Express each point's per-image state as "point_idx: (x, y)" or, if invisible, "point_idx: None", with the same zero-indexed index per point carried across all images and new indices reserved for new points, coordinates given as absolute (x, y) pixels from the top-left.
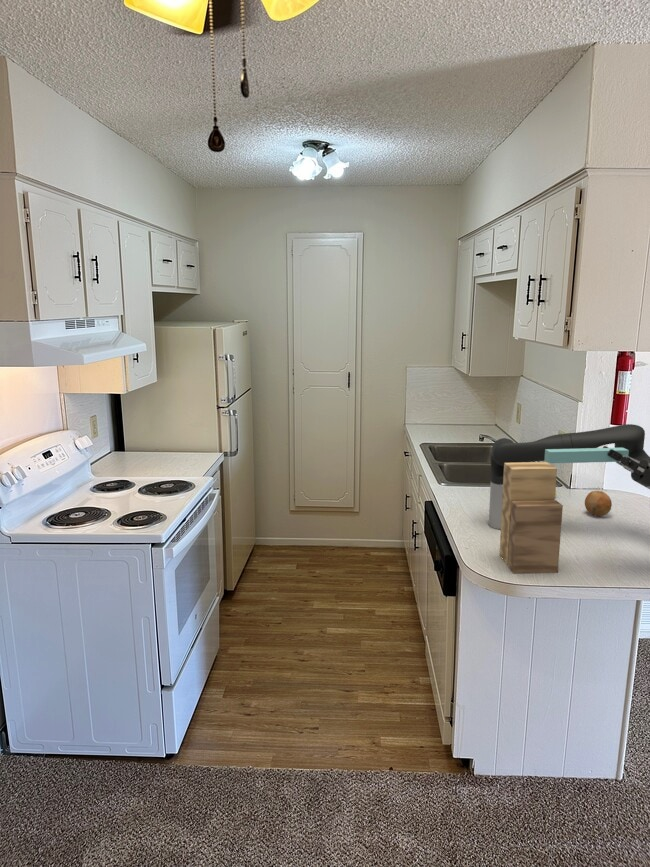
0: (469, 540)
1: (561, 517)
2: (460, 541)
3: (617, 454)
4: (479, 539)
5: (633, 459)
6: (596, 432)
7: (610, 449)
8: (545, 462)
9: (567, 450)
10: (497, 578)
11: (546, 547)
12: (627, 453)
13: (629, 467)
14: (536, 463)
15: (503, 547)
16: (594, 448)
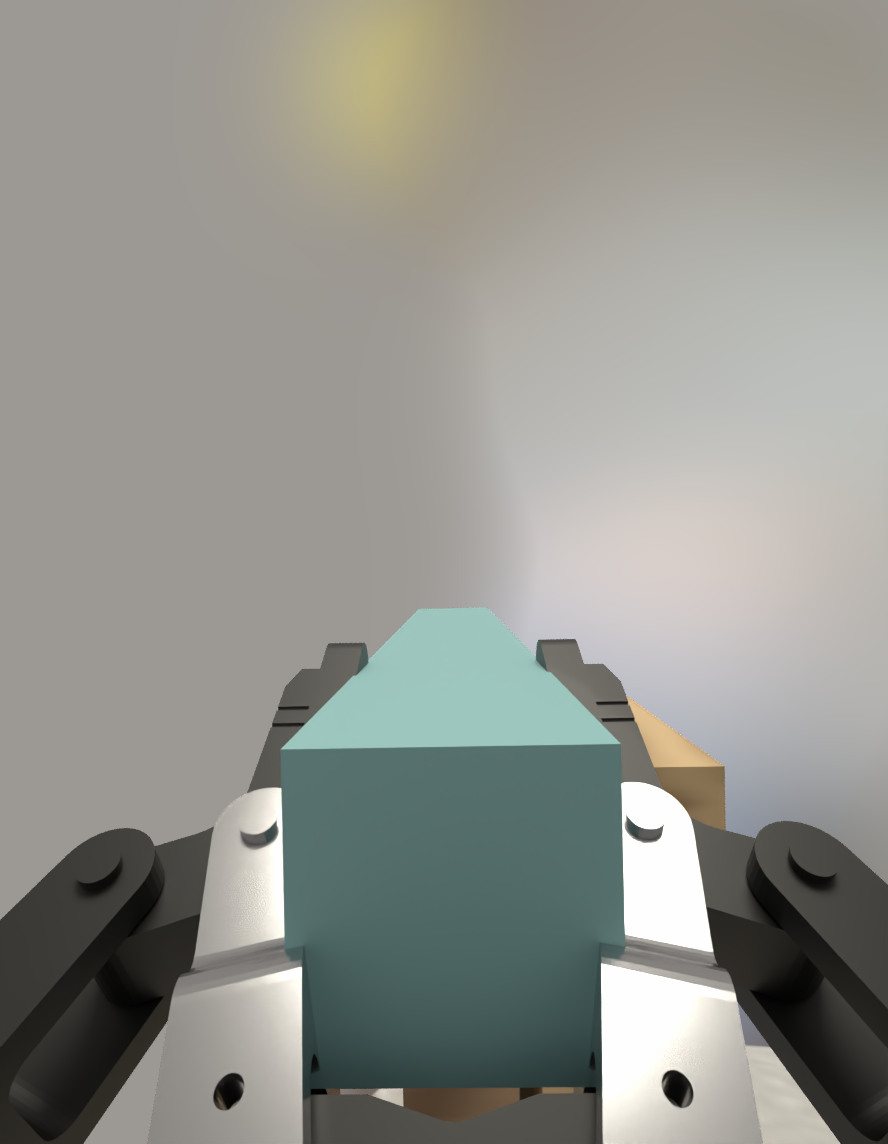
0: (779, 1087)
1: (404, 1089)
2: (748, 1051)
3: (275, 731)
4: (819, 1134)
5: (157, 1135)
6: None
7: (364, 646)
8: (701, 760)
9: (446, 617)
10: (390, 1097)
11: None
12: (294, 833)
13: (33, 1064)
14: (651, 738)
15: None
16: (508, 642)
